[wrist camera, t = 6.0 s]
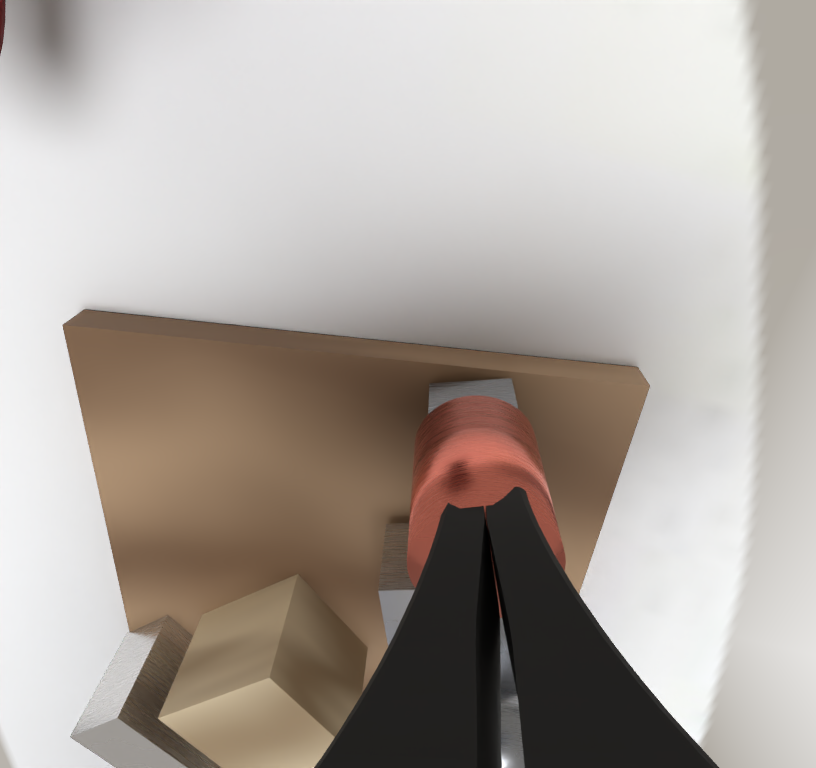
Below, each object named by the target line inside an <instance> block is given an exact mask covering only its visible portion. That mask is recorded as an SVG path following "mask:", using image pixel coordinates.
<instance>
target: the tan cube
mask: <svg viewBox="0 0 816 768" xmlns="http://www.w3.org/2000/svg"><path fill="white" fill-rule="evenodd" d="M367 650H368V647H367V646H366V645H365V644H364V643H363V642H362V641H361V640H360V639H359V638H358V637H357V636H356V635H355V634H354V633H353V632H352V630H351V629H350V628H349V627H348V626H347V625H346V624H345V623H344V622H343V621H342V620H341V619H340V618H339V617H338V616H337V615H336V614H335V613H334V611H333V610H332V609H331V608H330V607H329V606H328V605H327V604H326V603H325V602H324V601H323V600H322V599H321V598H320V597H319V596H318V595H317V594H316V592H315V591H314V590H313V589H312V588H311V587H310V586H309V585H308V584H307V583H306V582H305V581H304V580H303V579H302V578H301V577H300V576H299V574H297V575H294V576H292V577H290V578H287V579H285V580H283V581H280V582H278V583H275V584H273V585H271V586H268V587H266V588H264V589H261V590H259V591H257V592H254V593H252V594H250V595H247V596H245V597H243V598H240V599H238V600H235V601H233V602H231V603H228V604H226V605H224V606H221V607H219V608H217V609H214V610H212V611H210V612H207V613H205V614H203V615H202V617H201V619H200V621H199V624H198V626H197V628H196V631H195V633H194V635H193V638H192V640H191V642H190V644H189V647H188V649H187V651H186V654H185V656H184V658H183V661H182V663H181V665H180V668H179V670H178V672H177V675H176V677H175V679H174V682H173V684H172V686H171V689H170V691H169V693H168V696H167V698H166V700H165V703H164V705H163V707H162V710H161V712H160V714H159V717H158V719H159V720H160V721H161V722H163V723H164V724H165V725H167V726H168V727H169V728H171V729H172V730H173V731H175V732H176V733H177V734H178V735H180V736H181V737H182V738H184V739H185V740H186V741H188V742H189V743H190V744H191V745H193V746H194V747H195V748H197V749H198V750H199V751H201V752H202V753H203V754H205V755H206V756H207V757H208V758H210V759H211V760H212V761H214V762H215V763H216V764H218V765H219V766H220V767H221V768H313V767H315V766H316V764H317V763H318V761H319V760H320V759H321V757H322V756H323V754H324V753H325V751H326V750H327V748H328V747H329V745H330V744H331V742H332V741H333V739H334V738H335V736H336V735H337V733H338V732H339V730H340V729H341V727H342V725H343V724H344V722H345V721H346V719H347V717H348V716H349V714H350V713H351V711H352V709H353V708H354V706H355V704H356V703H357V701H358V700H359V698H360V696H361V695H362V690H363V682H364V674H365V666H366V658H367Z"/></svg>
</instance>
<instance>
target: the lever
mask: <svg viewBox="0 0 816 768" xmlns="http://www.w3.org/2000/svg"><path fill="white" fill-rule="evenodd" d="M514 487H521V488H522V489H524V490H525V491H526V493H527V497H528V500H529V503H530V505H531V508H532V510H533V513H534V515H535V517H536V520H537V522H538V524H539V526H540V528H541V530H542V532H543V534H544V536H545V538H546V540H547V542H548V544H549V546H550V547H551V549H552V551H553V553H554V555H555V556H556V558H557V560H558V561H559V563H560V565H561V566H562V568H563V570H564V571H565V565H566V557H565V552H564V547H563V543H562V540H561V536H560V532H559V528H558V524H557V520H556V516H555V512H554V508H553V504H552V500H551V496H550V492H549V488H548V484H547V480H546V476H545V473H544V469H543V465H542V461H541V457H540V453H539V449H538V445H537V441H536V437H535V433H534V430H533V428H532V425H531V424H530V422H529V420H528V419H527V418H526V416H525V415H524V414H523V413H522V412H521V411H520V410H519V409H518V405H517V401H516V396H515V392H514V388H513V383H512V379H511V378H507V379H491V380H475V381H458V382H442V383H429V409H428V415H427V417H426V418H425V419H424V420H423V422H422V423H421V425H420V427H419V429H418V431H417V434H416V437H415V445H414V460H413V475H412V490H411V505H410V520H409V523H396V524H386V529H385V538H384V547H383V555H382V564H381V572H380V581H379V590H378V592H379V598H380V603H381V609H382V615H383V620H384V626H385V632H386V638H387V643H388V646H389V644H390V642H391V640H392V638H393V636H394V634H395V632H396V630H397V628H398V626H399V623H400V621H401V619H402V617H403V615H404V613H405V611H406V608H407V606H408V604H409V602H410V600H411V598H412V595H413V593H414V591H415V588H416V586H417V583H418V581H419V578H420V576H421V573H422V570H423V568H424V565H425V563H426V560H427V558H428V555H429V552H430V549H431V546H432V543H433V540H434V538H435V534H436V531H437V528H438V525H439V521H440V517H441V514H442V512H443V511H444V509H445V507H446V505H447V504H448V503H450V504H451V505H454V506H456V507H458V508H469V507H479V506H484V512H485V519H486V525H487V532H488V538H489V545H490V551H491V558H492V564H493V571H494V577H495V584H496V590H497V597H498V603H499V613H500V632H501V759H502V768H525V765H524V755H523V744H522V734H521V724H520V714H519V704H518V697H517V692H516V687H515V682H514V677H513V672H512V667H511V661H510V656H509V651H508V646H507V641H506V636H505V631H504V625H503V620H502V614H501V607H500V601H499V594H498V588H497V581H496V575H495V568H494V562H493V556H492V549H491V543H490V536H489V530H488V523H487V513H486V506H488V505H494V504H495V503H496V502H498V501H499V500H501V499H502V498H504V497H505V496H506V495H507V494H508V493H509V492H510V491H511V490H512V489H513V488H514Z"/></svg>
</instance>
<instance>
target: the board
mask: <svg viewBox="0 0 816 768" xmlns="http://www.w3.org/2000/svg"><path fill="white" fill-rule="evenodd" d="M63 330H64V334H65V339H66V343H67V348H68V352H69V357H70V362H71V366H72V371H73V375H74V380H75V384H76V389H77V394H78V398H79V403H80V407H81V412H82V416H83V421H84V425H85V430H86V435H87V439H88V444H89V448H90V453H91V457H92V462H93V467H94V471H95V476H96V480H97V485H98V489H99V494H100V499H101V503H102V508H103V512H104V517H105V521H106V526H107V530H108V535H109V540H110V544H111V549H112V553H113V558H114V562H115V567H116V572H117V576H118V581H119V585H120V590H121V594H122V599H123V604H124V608H125V613H126V617H127V622H128V626H129V631H130V632H131V631H134V630H136V629H138V628H140V627H142V626H144V625H146V624H149V623H151V622H153V621H155V620H157V619H159V618H161V617H164V616H166V615H169V616H170V617H172V618H173V619H174V620H175V621H176V622H177V623H179V624H180V625H181V626H182V627H183V628H185V629H186V630H187V631H188V632H189V633H191V634H192V635H194V633H195V631H196V628H197V626H198V624H199V621H200V619H201V617H202V615H203V614H205V613H207V612H210V611H212V610H214V609H217V608H219V607H221V606H224V605H226V604H228V603H231V602H233V601H235V600H238V599H240V598H243V597H245V596H247V595H250V594H252V593H254V592H257V591H259V590H261V589H264V588H266V587H268V586H271V585H273V584H275V583H278V582H280V581H283V580H285V579H287V578H290V577H292V576H294V575H297V574H299V576H300V577H301V578H302V579H303V580H304V581H305V582H306V583H307V584H308V585H309V586H310V587H311V588H312V589H313V590H314V591H315V592H316V594H317V595H318V596H319V597H320V598H321V599H322V600H323V601H324V602H325V603H326V604H327V605H328V606H329V607H330V608H331V609H332V610H333V611H334V613H335V614H336V615H337V616H338V617H339V618H340V619H341V620H342V621H343V622H344V623H345V624H346V625H347V626H348V627H349V628H350V629H351V630H352V632H353V633H354V634H355V635H356V636H357V637H358V638H359V639H360V640H361V641H362V642H363V643H364V644H365V645H366V646H367V647H368V650H367V658H366V666H365V674H364V682H363V690H362V693H363V691H364V690H365V688H366V686H367V684H368V683H369V681H370V679H371V677H372V676H373V674H374V672H375V670H376V669H377V667H378V665H379V663H380V661H381V659H382V657H383V656H384V654H385V652H386V650H387V648H388V643H387V638H386V632H385V626H384V620H383V615H382V609H381V603H380V598H379V592H378V590H379V581H380V572H381V564H382V555H383V547H384V538H385V529H386V524H396V523H409V520H410V505H411V490H412V475H413V460H414V445H415V437H416V434H417V431H418V429H419V427H420V425H421V423H422V422H423V420H424V419H425V418H426V417H427V415H428V409H429V383H442V382H458V381H475V380H491V379H507V378H511V379H512V383H513V388H514V392H515V396H516V401H517V405H518V409H519V410H520V411H521V412H522V413H523V414H524V415H525V416H526V418H527V419H528V420H529V422H530V424H531V425H532V428H533V430H534V433H535V437H536V441H537V445H538V449H539V453H540V457H541V461H542V465H543V469H544V473H545V476H546V480H547V484H548V488H549V492H550V496H551V500H552V504H553V508H554V512H555V516H556V520H557V524H558V528H559V532H560V536H561V540H562V543H563V547H564V552H565V557H566V565H565V573H566V575H567V576H568V578H569V580H570V581H571V583H572V584H573V586H574V588H575V589H576V591H577V592H578V594H579V592H580V589H581V586H582V583H583V580H584V577H585V575H586V572H587V569H588V566H589V563H590V560H591V557H592V554H593V551H594V548H595V545H596V542H597V539H598V537H599V534H600V531H601V528H602V525H603V522H604V519H605V516H606V513H607V510H608V507H609V504H610V501H611V499H612V496H613V493H614V490H615V487H616V484H617V481H618V478H619V475H620V472H621V469H622V466H623V463H624V461H625V458H626V455H627V452H628V449H629V446H630V443H631V440H632V437H633V434H634V431H635V428H636V425H637V423H638V420H639V417H640V414H641V411H642V408H643V405H644V402H645V399H646V396H647V393H648V390H649V387H650V385H649V384H648V382H647V381H646V379H645V377H644V376H643V374H642V373H641V371H640V370H639V368H638V367H630V366H620V365H611V364H601V363H591V362H582V361H572V360H563V359H553V358H543V357H534V356H524V355H515V354H505V353H495V352H486V351H476V350H467V349H457V348H447V347H438V346H428V345H419V344H409V343H399V342H390V341H380V340H370V339H361V338H351V337H342V336H332V335H322V334H313V333H303V332H294V331H284V330H274V329H265V328H255V327H246V326H236V325H226V324H217V323H207V322H198V321H188V320H178V319H169V318H159V317H150V316H140V315H130V314H121V313H111V312H101V311H92V310H83V311H82V312H80V313H79V314H77V315H76V316H74V317H73V318H72V319H70V320H69V321H67V322H66V323H64V324H63Z"/></svg>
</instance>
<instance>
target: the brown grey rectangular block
mask: <svg viewBox="0 0 816 768" xmlns="http://www.w3.org/2000/svg"><path fill="white" fill-rule="evenodd" d="M192 638H193V635H192V634H191V633H189V632H188V631H187V630H186V629H185V628H183V627H182V626H181V625H180V624H179V623H177V622H176V621H175V620H174V619H173V618H172V617H170V616H169V615H166V616H164V617H161V618H159V619H157V620H155V621H153V622H151V623H149V624H146V625H144V626H142V627H140V628H138V629H136V630H134V631H131V632H129V633H127V634H126V636H125V637H124V639H123V641H122V643H121V645H120V647H119V648H118V650H117V652H116V654H115V656H114V658H113V659H112V661H111V663H110V665H109V667H108V669H107V670H106V672H105V674H104V676H103V678H102V680H101V681H100V683H99V685H98V687H97V689H96V690H95V692H94V694H93V696H92V698H91V700H90V701H89V703H88V705H87V707H86V709H85V711H84V712H83V714H82V716H81V718H80V720H79V722H78V723H77V725H76V727H75V729H74V731H73V733H72V734H71V736H70V737H71V738H72V739H74V740H75V741H77V742H78V743H80V744H81V745H83V746H84V747H86V748H87V749H89V750H90V751H92V752H93V753H95V754H96V755H98V756H99V757H101V758H102V759H104V760H105V761H107V762H108V763H110V764H111V765H113V766H114V767H116V768H221V767H220V766H219V765H218V764H216V763H215V762H214V761H212V760H211V759H210V758H208V757H207V756H206V755H205V754H203V753H202V752H201V751H199V750H198V749H197V748H195V747H194V746H193V745H191V744H190V743H189V742H188V741H186V740H185V739H184V738H182V737H181V736H180V735H178V734H177V733H176V732H175V731H173V730H172V729H171V728H169V727H168V726H167V725H165V724H164V723H163V722H161V721H160V720H159V719H158V717H159V714H160V712H161V710H162V707H163V705H164V703H165V700H166V698H167V696H168V693H169V691H170V689H171V686H172V684H173V682H174V679H175V677H176V675H177V672H178V670H179V668H180V665H181V663H182V661H183V658H184V656H185V654H186V651H187V649H188V647H189V644H190V642H191V640H192Z"/></svg>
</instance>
